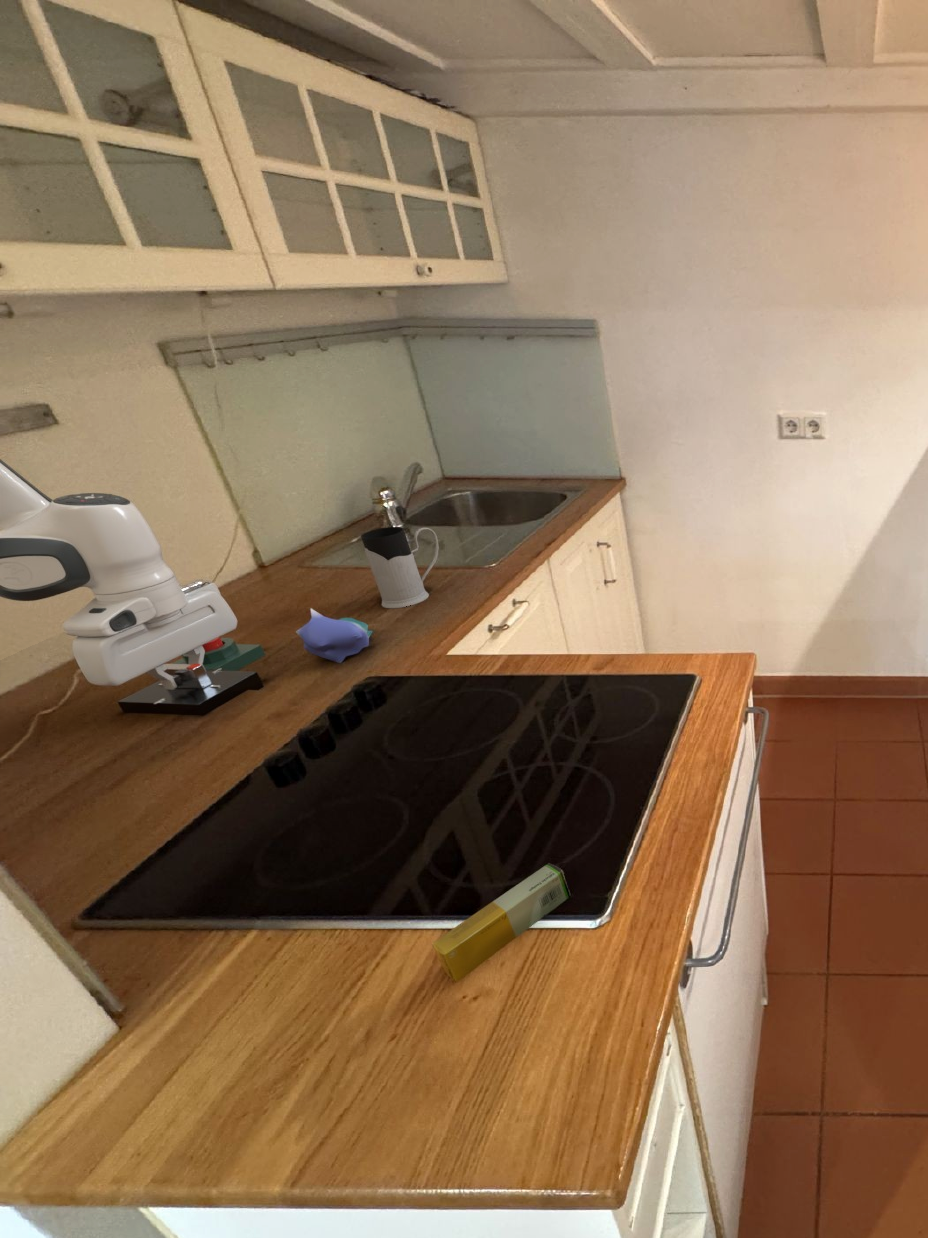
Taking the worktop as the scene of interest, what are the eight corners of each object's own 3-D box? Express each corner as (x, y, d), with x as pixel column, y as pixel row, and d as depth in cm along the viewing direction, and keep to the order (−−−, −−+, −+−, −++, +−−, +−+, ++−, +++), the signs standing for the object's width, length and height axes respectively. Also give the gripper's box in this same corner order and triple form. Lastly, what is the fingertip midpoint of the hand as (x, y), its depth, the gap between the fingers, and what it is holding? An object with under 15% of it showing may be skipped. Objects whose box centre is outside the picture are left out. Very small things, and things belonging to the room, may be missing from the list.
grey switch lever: (166, 687, 107) (154, 667, 105) (176, 682, 108) (165, 662, 106) (202, 688, 106) (191, 668, 104) (212, 683, 107) (201, 663, 106)
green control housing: (167, 679, 115) (156, 658, 114) (216, 654, 124) (207, 634, 122) (219, 680, 114) (208, 660, 113) (265, 655, 122) (256, 635, 121)
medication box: (560, 890, 71) (550, 860, 69) (574, 900, 69) (565, 869, 68) (443, 974, 62) (429, 942, 61) (457, 988, 60) (443, 954, 59)
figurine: (338, 676, 126) (345, 631, 128) (393, 667, 124) (398, 621, 126) (268, 660, 114) (277, 610, 116) (327, 649, 112) (335, 599, 114)
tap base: (124, 719, 104) (113, 702, 103) (191, 683, 114) (183, 667, 112) (204, 722, 103) (195, 704, 101) (266, 685, 112) (258, 669, 111)
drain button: (187, 654, 116) (182, 645, 115) (209, 643, 119) (205, 634, 119) (208, 654, 115) (203, 645, 115) (229, 643, 119) (225, 634, 118)
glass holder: (373, 602, 143) (348, 535, 136) (440, 580, 153) (420, 517, 147) (394, 611, 138) (369, 542, 132) (461, 588, 149) (441, 522, 142)
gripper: (193, 575, 110) (229, 649, 116) (47, 630, 92) (99, 716, 98) (227, 575, 109) (262, 650, 115) (87, 631, 91) (137, 717, 97)
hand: (186, 681), depth 107 cm, fingers closed
